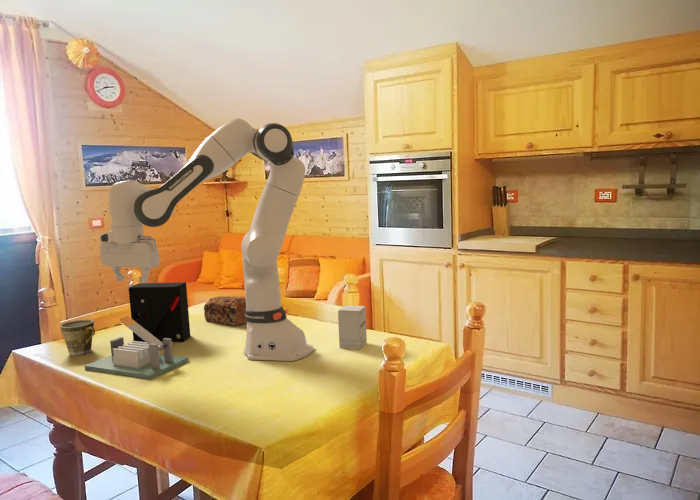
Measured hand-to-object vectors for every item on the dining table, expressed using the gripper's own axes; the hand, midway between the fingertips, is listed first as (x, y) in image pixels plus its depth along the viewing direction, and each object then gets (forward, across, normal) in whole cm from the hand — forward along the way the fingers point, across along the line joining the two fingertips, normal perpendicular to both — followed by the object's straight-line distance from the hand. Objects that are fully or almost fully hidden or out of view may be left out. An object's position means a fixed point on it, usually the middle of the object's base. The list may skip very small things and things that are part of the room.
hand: (131, 281), depth 160 cm
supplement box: (+26, -55, -37) cm, 71 cm away
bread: (+26, +5, -52) cm, 58 cm away
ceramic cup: (+26, +29, -4) cm, 39 cm away
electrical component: (+26, +13, -24) cm, 38 cm away
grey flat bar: (+16, -2, 0) cm, 16 cm away
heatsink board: (+26, +1, 0) cm, 26 cm away
